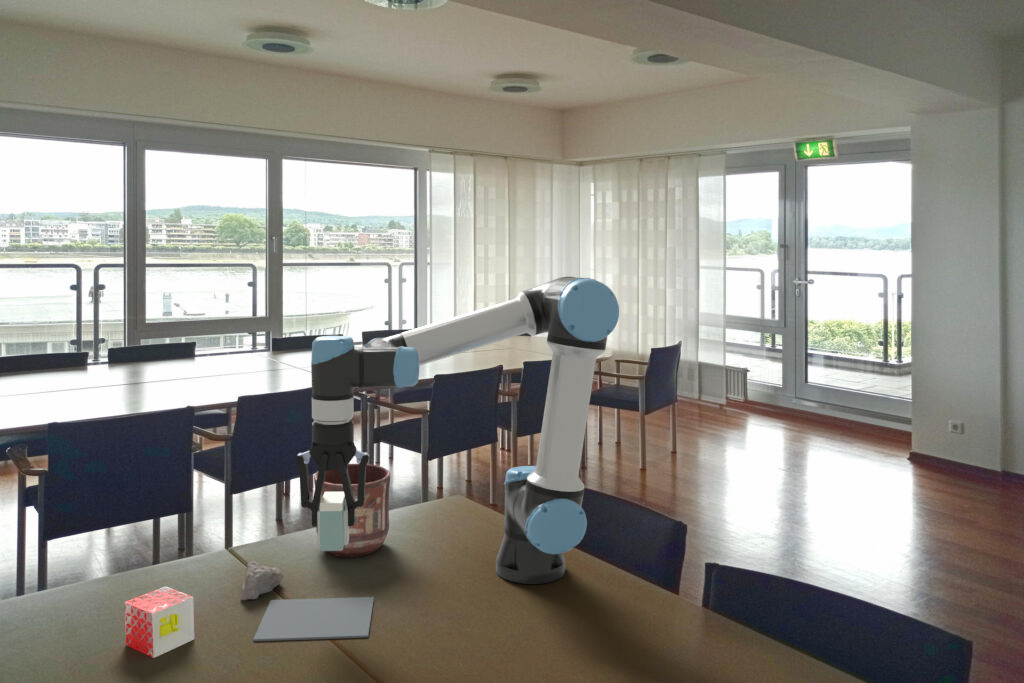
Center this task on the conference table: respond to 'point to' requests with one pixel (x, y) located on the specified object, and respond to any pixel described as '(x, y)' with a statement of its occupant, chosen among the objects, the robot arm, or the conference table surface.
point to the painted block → (332, 521)
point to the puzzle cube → (159, 621)
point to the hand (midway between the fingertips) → (333, 542)
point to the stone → (259, 580)
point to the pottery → (363, 509)
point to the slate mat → (316, 619)
